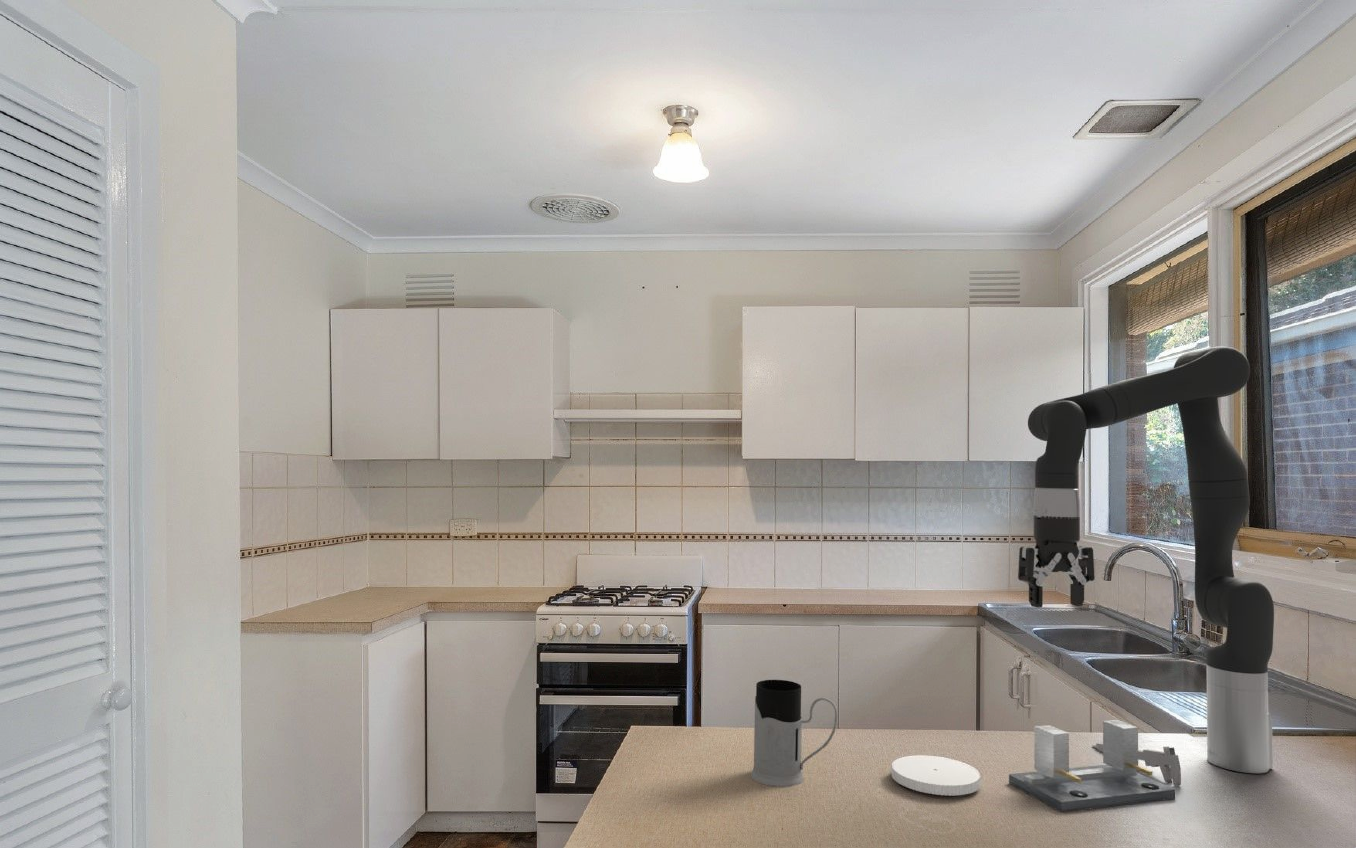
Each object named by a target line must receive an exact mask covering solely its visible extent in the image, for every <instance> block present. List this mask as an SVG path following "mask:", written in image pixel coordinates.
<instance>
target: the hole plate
mask: <svg viewBox="0 0 1356 848" xmlns="http://www.w3.org/2000/svg"><path fill="white" fill-rule="evenodd" d="M1069 773H1070V774H1073V775H1075V776H1077V777H1079V778H1081V783H1077V782H1075V781H1073V780H1071V779H1069V778H1059V779H1052V778H1051V777H1049V776H1047V775H1045V774H1043V773H1041V772H1039V771H1037V770H1035V771H1027V772H1019V773H1017V772H1016V773H1009V774H1008V784H1010V786H1013V787H1015V788H1016V787H1017V788H1016V789H1018V790H1020V791H1022V790H1023V791H1022V792H1024V793H1026V794H1027V795H1029V794H1030V796H1031V797H1033V798H1034V799H1036V800H1039V801H1041V802H1042V803H1044V804H1046V805H1047V806H1049V807H1051V808H1053V809H1055V810H1057V811H1058V812H1060V813H1065V812H1066V811H1067V812H1073V811H1083V810H1084V809H1085V810H1091V809H1090V808H1093V809H1100V808H1099V807H1102V808H1109V807H1116V806H1117V807H1118V806H1126V805H1134V804H1137V805H1138V804H1144V803H1152V802H1161V801H1171V800H1176V789H1175V788H1173V787H1170V786H1168V785H1166V784H1164V783H1161V782H1160V781H1157V780H1155V779H1153V778H1150V777H1148V776H1145V775H1144V774H1140V773H1138V771H1128V772H1123V771H1120V770H1118V769H1116V768H1114V767H1111V766H1109V765H1107V764H1102V765H1101V764H1100V765H1089V766H1079V767H1069ZM1085 810H1084V811H1085Z"/></svg>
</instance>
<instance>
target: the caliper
mask: <svg viewBox="0 0 1356 848" xmlns="http://www.w3.org/2000/svg"><path fill="white" fill-rule="evenodd" d="M1091 748H1093V749H1096V750H1097V751H1099V752H1101V753H1103V742H1096V744H1093V745H1091ZM1162 749H1163V751H1159V750H1153V749H1150V748H1149V749H1147V748H1146V749H1143V750H1140V749H1138V761H1143V762H1144V764H1145V766H1146V767H1151V768H1157V767H1159V769H1160V771H1161V774H1162V777H1163V781H1164V782H1165V783H1166V784H1173V785H1172V786H1173V787H1179V786H1180V787H1181V785H1182V776H1181V774H1182V773H1181V772H1182V769H1181V763H1180V758H1179V755H1178V754H1176V752H1175V747H1170V746H1163V747H1162Z"/></svg>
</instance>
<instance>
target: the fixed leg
mask: <svg viewBox="0 0 1356 848" xmlns="http://www.w3.org/2000/svg"><path fill="white" fill-rule="evenodd" d="M1102 743H1103V752H1102V763H1103V764H1104V765H1109V766H1111V767H1114V768H1116V769H1118V770H1120V771H1123V772H1128V771H1137V772H1140V773H1142V774H1144V775H1147V776H1153V773H1154V772H1153V771H1152V770H1150V769H1148V768H1145V767H1143V766H1140V765H1139V760H1138V750H1139V727H1137V726H1135V725H1132V724H1129V723H1127V722H1124V721H1122V720H1118V719H1109V720H1103V721H1102Z"/></svg>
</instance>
